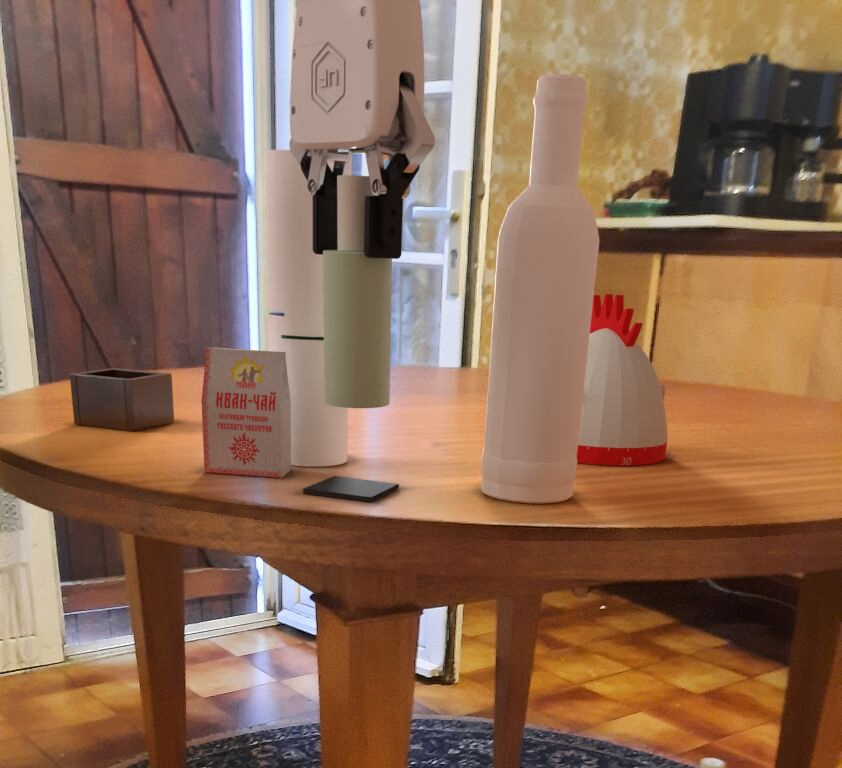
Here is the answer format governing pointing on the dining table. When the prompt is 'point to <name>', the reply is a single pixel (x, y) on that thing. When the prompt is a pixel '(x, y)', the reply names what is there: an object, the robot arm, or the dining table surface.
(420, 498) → the dining table surface
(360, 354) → the bottle
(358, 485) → the coaster
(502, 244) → the bottle
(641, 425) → the kitchen timer
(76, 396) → the box
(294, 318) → the cylindrical container
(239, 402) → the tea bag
